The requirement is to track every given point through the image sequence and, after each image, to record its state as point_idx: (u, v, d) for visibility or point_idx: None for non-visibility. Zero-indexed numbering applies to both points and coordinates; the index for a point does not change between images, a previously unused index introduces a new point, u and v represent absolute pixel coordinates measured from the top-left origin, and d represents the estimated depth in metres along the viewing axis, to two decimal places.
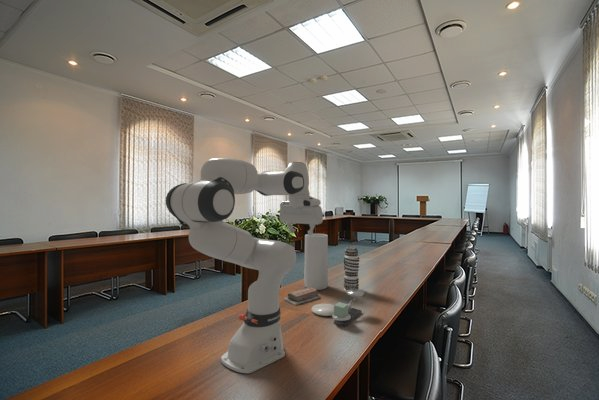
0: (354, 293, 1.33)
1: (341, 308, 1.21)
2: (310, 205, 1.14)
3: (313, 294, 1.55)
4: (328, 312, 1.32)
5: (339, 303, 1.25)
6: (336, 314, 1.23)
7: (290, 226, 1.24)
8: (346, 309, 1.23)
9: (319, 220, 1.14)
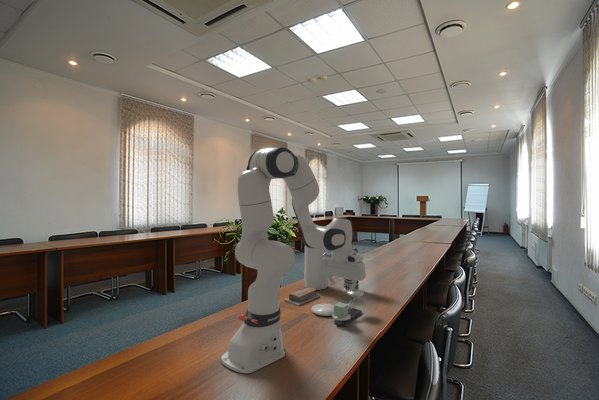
0: (354, 293, 1.33)
1: (341, 308, 1.21)
2: (355, 261, 1.17)
3: (313, 294, 1.55)
4: (328, 312, 1.32)
5: (339, 303, 1.25)
6: (336, 314, 1.23)
7: (331, 278, 1.27)
8: (346, 309, 1.23)
9: (363, 276, 1.17)
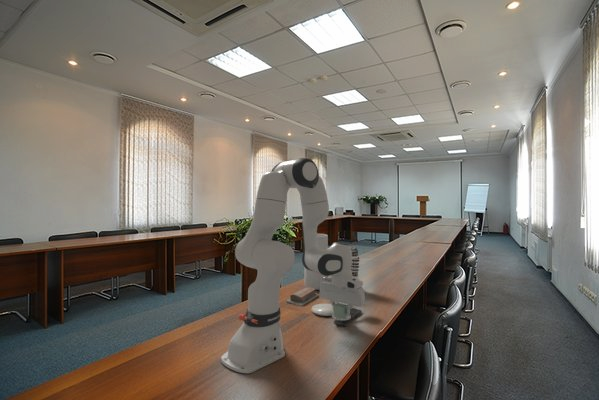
0: None
1: (341, 308, 1.21)
2: (354, 288, 1.17)
3: (313, 293, 1.56)
4: (328, 312, 1.32)
5: (339, 303, 1.25)
6: (336, 314, 1.23)
7: (333, 303, 1.26)
8: None
9: (362, 303, 1.17)
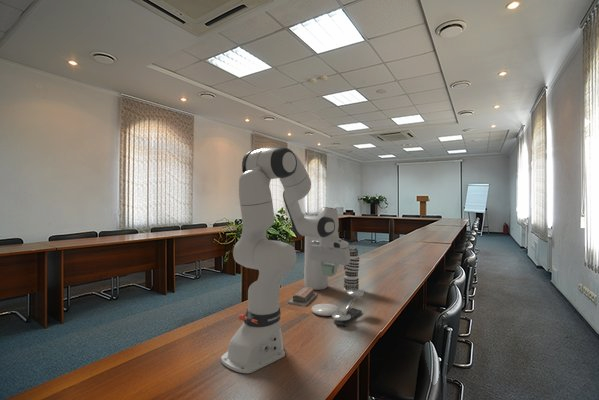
0: (354, 293, 1.33)
1: (328, 267, 1.31)
2: (340, 247, 1.27)
3: (312, 293, 1.57)
4: (328, 312, 1.32)
5: (327, 264, 1.35)
6: (324, 273, 1.33)
7: (322, 264, 1.36)
8: None
9: (347, 261, 1.27)
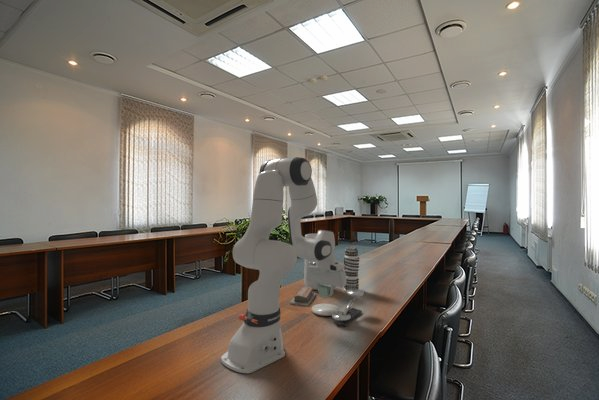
0: (354, 293, 1.33)
1: (325, 289, 1.34)
2: (336, 270, 1.30)
3: (311, 292, 1.57)
4: (328, 312, 1.32)
5: (324, 285, 1.37)
6: (321, 295, 1.35)
7: (318, 285, 1.39)
8: None
9: (343, 283, 1.30)
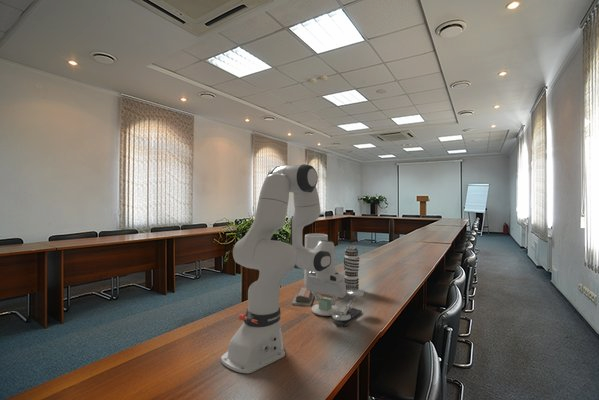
0: (354, 293, 1.33)
1: (325, 302, 1.34)
2: (336, 281, 1.30)
3: None
4: (328, 312, 1.32)
5: (324, 298, 1.38)
6: (320, 307, 1.35)
7: (316, 295, 1.39)
8: (329, 303, 1.36)
9: (343, 294, 1.30)
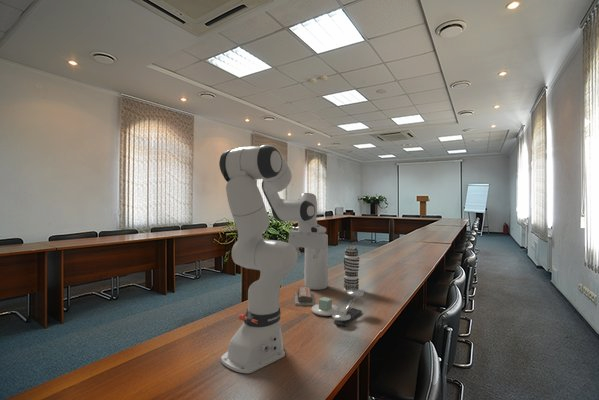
0: (354, 293, 1.33)
1: (325, 302, 1.34)
2: (317, 232, 1.28)
3: None
4: (328, 312, 1.32)
5: (324, 298, 1.38)
6: (320, 307, 1.35)
7: (297, 250, 1.38)
8: (329, 303, 1.36)
9: (324, 246, 1.28)
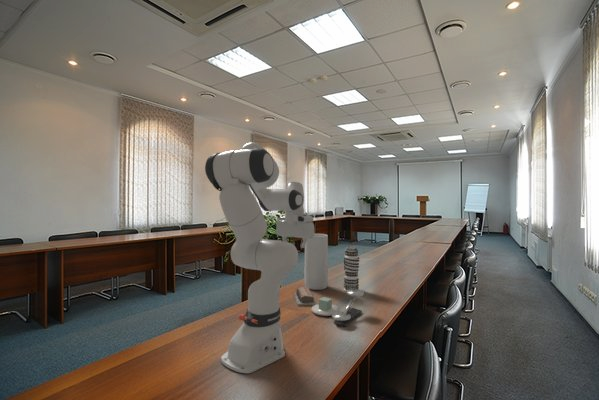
0: (354, 293, 1.33)
1: (325, 302, 1.34)
2: (304, 221, 1.28)
3: None
4: (328, 312, 1.32)
5: (324, 298, 1.38)
6: (320, 307, 1.35)
7: (285, 239, 1.38)
8: (329, 303, 1.36)
9: (311, 235, 1.28)
